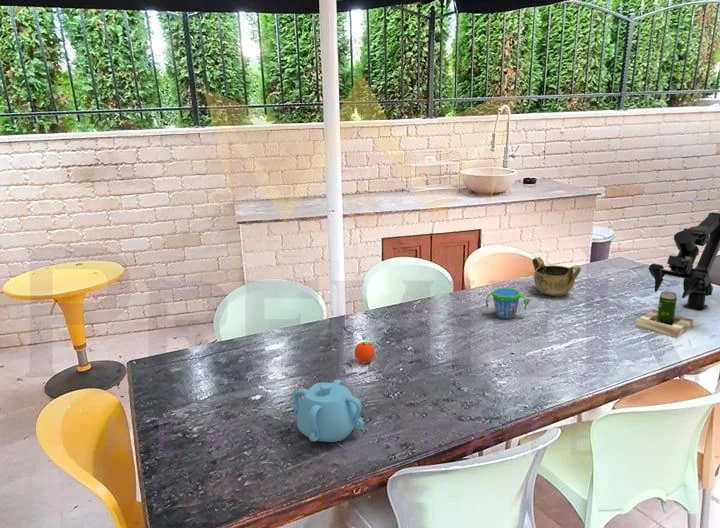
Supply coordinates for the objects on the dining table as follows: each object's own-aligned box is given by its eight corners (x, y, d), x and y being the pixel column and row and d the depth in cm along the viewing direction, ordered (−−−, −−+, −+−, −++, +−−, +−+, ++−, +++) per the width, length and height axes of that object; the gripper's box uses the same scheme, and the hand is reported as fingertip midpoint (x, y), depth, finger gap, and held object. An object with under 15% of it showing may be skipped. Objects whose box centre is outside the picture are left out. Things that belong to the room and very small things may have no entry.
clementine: (373, 354, 179) (372, 336, 177) (381, 363, 173) (380, 344, 171) (351, 359, 177) (350, 340, 175) (358, 368, 171) (357, 348, 169)
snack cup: (482, 318, 206) (483, 294, 203) (489, 309, 215) (489, 285, 212) (523, 323, 199) (524, 298, 196) (528, 314, 208) (529, 290, 205)
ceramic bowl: (588, 296, 223) (590, 262, 219) (563, 305, 214) (565, 271, 210) (544, 283, 241) (546, 252, 237) (520, 291, 232) (521, 259, 228)
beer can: (671, 322, 191) (675, 291, 188) (674, 328, 187) (678, 297, 183) (655, 320, 193) (659, 290, 190) (657, 326, 188) (661, 295, 185)
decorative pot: (304, 455, 128) (300, 407, 124) (293, 420, 143) (289, 376, 139) (367, 441, 133) (364, 394, 129) (349, 408, 148) (347, 365, 144)
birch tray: (652, 318, 200) (653, 309, 199) (692, 328, 189) (693, 319, 188) (635, 328, 192) (636, 319, 191) (676, 339, 181) (677, 330, 180)
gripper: (653, 242, 192) (636, 277, 189) (710, 251, 178) (693, 289, 175) (660, 258, 199) (644, 292, 196) (716, 268, 185) (699, 305, 182)
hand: (668, 294), depth 187 cm, fingers open, 9 cm apart
